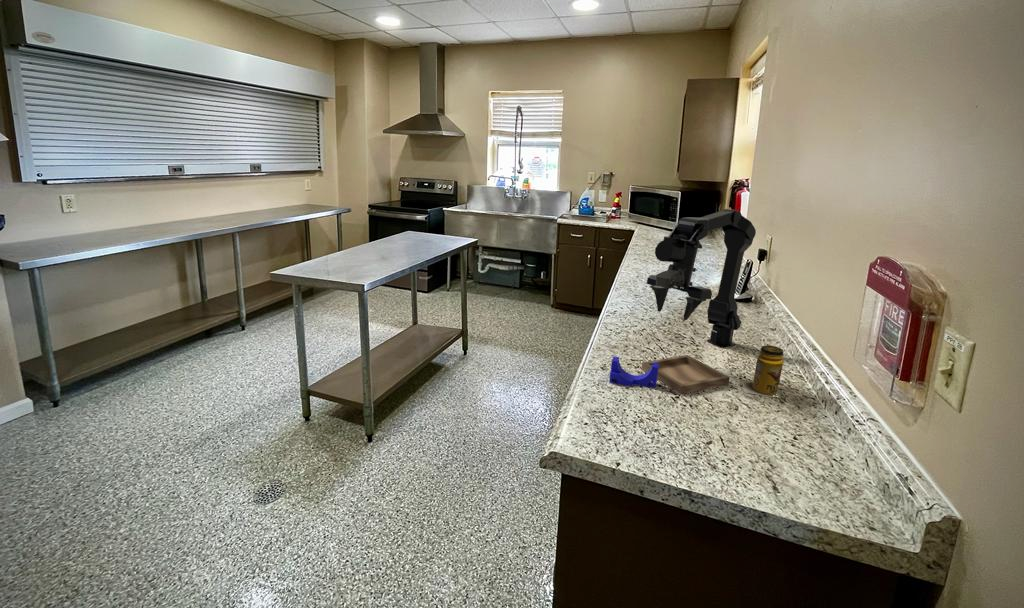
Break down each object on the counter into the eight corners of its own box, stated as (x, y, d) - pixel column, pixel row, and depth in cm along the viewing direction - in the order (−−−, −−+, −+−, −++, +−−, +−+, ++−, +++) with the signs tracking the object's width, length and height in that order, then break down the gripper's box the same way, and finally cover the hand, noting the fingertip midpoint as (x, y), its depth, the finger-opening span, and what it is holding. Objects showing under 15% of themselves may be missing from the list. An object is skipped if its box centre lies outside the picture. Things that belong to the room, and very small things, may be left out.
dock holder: (686, 361, 150) (687, 354, 149) (728, 384, 135) (730, 377, 135) (641, 369, 143) (642, 362, 143) (680, 394, 129) (681, 386, 128)
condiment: (780, 398, 128) (789, 355, 125) (745, 393, 131) (752, 350, 127) (775, 386, 135) (783, 345, 132) (741, 381, 137) (748, 340, 134)
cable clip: (609, 383, 135) (610, 362, 133) (611, 376, 139) (613, 356, 137) (655, 390, 131) (657, 369, 129) (656, 383, 135) (658, 363, 133)
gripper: (639, 255, 145) (629, 307, 148) (694, 268, 131) (681, 326, 134) (664, 257, 152) (653, 306, 155) (719, 270, 137) (705, 324, 140)
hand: (671, 315), depth 146 cm, fingers open, 9 cm apart
